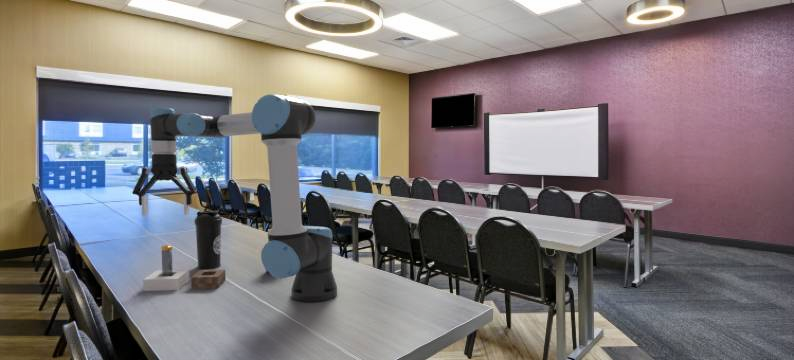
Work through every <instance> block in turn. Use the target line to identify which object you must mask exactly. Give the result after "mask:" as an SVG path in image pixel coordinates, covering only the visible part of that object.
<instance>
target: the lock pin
mask: <svg viewBox="0 0 794 360" xmlns="http://www.w3.org/2000/svg"><path fill="white" fill-rule="evenodd" d="M161 270H162V276H173V271H172V270H173V246H172V245H169V244H167V245H162V246H161Z"/></svg>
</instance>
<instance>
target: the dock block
mask: <svg viewBox="0 0 794 360" xmlns="http://www.w3.org/2000/svg"><path fill="white" fill-rule="evenodd" d="M172 271H173V276H162V269H158V270H155V271H153V272H152V273H151V274H150V275H148V276H146V277H145V278H143V279H142V284H143V285H142V286H143V287H142V288H143V292H150V291H151V292H156V291H158V292H159V291H178V290H180V289H181V288H182V287H183V286H185V285H186V284H187V283H188V282H189V281H190V269H172Z"/></svg>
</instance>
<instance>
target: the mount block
mask: <svg viewBox="0 0 794 360" xmlns="http://www.w3.org/2000/svg"><path fill="white" fill-rule="evenodd" d="M225 281H226V269H199V270H198V271H196V273H194V275H192V276H191V277H190V287H191V288H190V289H191V290H195V289H196V290H198V289H219V288H220V287H221V286H222V285H223V284H224V282H225Z"/></svg>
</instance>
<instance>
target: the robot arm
mask: <svg viewBox="0 0 794 360" xmlns="http://www.w3.org/2000/svg"><path fill="white" fill-rule="evenodd" d="M149 114H150V115H149V116H150V117H149V118H150V119H149V122H150V139H151V142H150V144H151V145H150V146H151V147H150V148H151V149H150V150H151V151H150V152H151V153H153V154H151V167H148V166H145V167H142V168H141V174H140V176H139V177H138V180H137V182H136V184H135V186H134V188H133V190H132V192H131V193H132V195H136V196H137V197H138V205H139V206H141V215H142V216H147V215H149V204H148V202H149V200H148V195H147V193H148V192H149V190H150V189H151V188H152V187H153V186H154V185H155V184H156V183H157V182H158V181H172V182H173V183H174V184H175V185H176V186H177V187H178V188H179V189H180V190H181V191H182V192H183V193H184V194H185V195H183V215H185V216H187V215H189V214H190V206H191V205H192V204H193V203H192V196H193V195H194V194H197V193H198V190H197V188H196V186H195V184H194V183H193V181H192V180H191V177H190V175H189V174H188V170H187V169H188V168H187V167H185V166H184V167H181V168H180V167H179V168H178V166H177V164H178V163H177V161H178V160H177V159H178V158H177V154H175V153H177V137H200V138H201V137H203V138H216V139H217V138H218V139H221V138H222V139H223V138H227V137H230V136H231V137H233V136H234V137H235V136H244V135H245V136H246V135H260V136H261V137H260V139H261V142H262V143H263V145H265V147H266V148H267V162H268V176H269V189H270V190H269V191H270V193H269V194H270V206H271V220H272V227H271V228H270V229H269V230H268V232H267V239H268V242H267V243H265V244H264V245H263V247H262V249H261V251H260V255H261V257H260V258H261V262H262V265H263V268H264V269H265V271H266V270H267V271H269V273H268V274H269V275H270V276H272V277H275V278H277V279H287V278H289V277H294V276H295V277H294V280H293V284H292V286H291V292H290V293H291V294H290V296H291V298H292V299H293V300H296V301H298V302H304V303H305V302H307V303H318V302H319V303H320V302H324V301H329V300H332V299H333V298H335V297H336V296H337V294H338V286H337V282H336V280H335V277H334V274H333V273H334V272H333V232H332V229H331V228H329V227H325V226H318V225H317V226H314V225H303V221H302V206H301V193H300V192H301V190H300V176H299V175H300V173H299V162H298V161H299V159H298V145H299V144H300V143H301V141H302V136H304V135H306V134H308V133H310V132H311V131H312V130H313V129H314V127H315V125H316V120H317V114H316V112H315V109H314V108H313V106H312V105H311V103H309V102H307V101H306V100H304V99H301V98H295V97H290V96H285V95H283V94H273V93H272V94H270V93H269V94H266V95H263V96H262V97H260V98H259V99H258V100H257V102H256V103H255V104H254V106H253V107H252V111H251V112H243V113H231V114H224V115H204V114H201V115H200V114H198V113H193V112H185V113H184V112H183V113H176V111H175V109H174V108H169V107H154V108H153V107H152V108H151V109H150V113H149ZM150 173H152V177H151V178H150V179H149V181H148V182H147V183H146V184H145V182H146V179H147V178H148V175H149V174H150ZM178 173H179V174H180V175H181V177H182V179H183V180H184V183H185V184H186V185H185V184H184V183H183V182H182V180H181V179H180V177H178V176H177V174H178ZM144 184H145V185H144ZM143 186H144V187H143Z"/></svg>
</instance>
